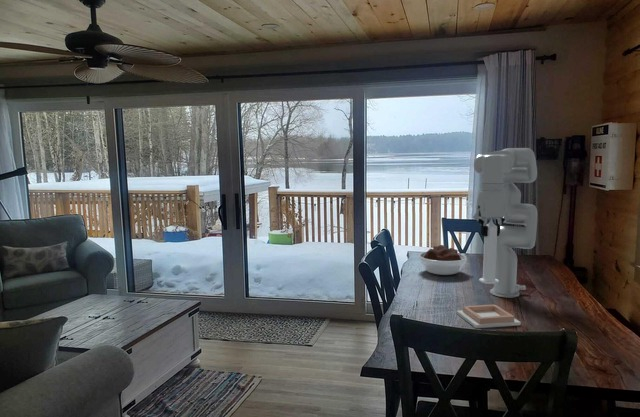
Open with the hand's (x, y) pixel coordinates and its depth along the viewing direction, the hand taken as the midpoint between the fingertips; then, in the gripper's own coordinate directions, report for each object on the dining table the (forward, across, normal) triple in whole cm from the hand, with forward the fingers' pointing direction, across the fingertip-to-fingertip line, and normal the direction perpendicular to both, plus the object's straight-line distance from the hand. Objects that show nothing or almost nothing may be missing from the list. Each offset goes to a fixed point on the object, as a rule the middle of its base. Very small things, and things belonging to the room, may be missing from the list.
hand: (490, 235), depth 173 cm
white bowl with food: (+34, -11, -69) cm, 77 cm away
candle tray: (+33, 0, 0) cm, 33 cm away
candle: (+19, 0, 0) cm, 19 cm away
